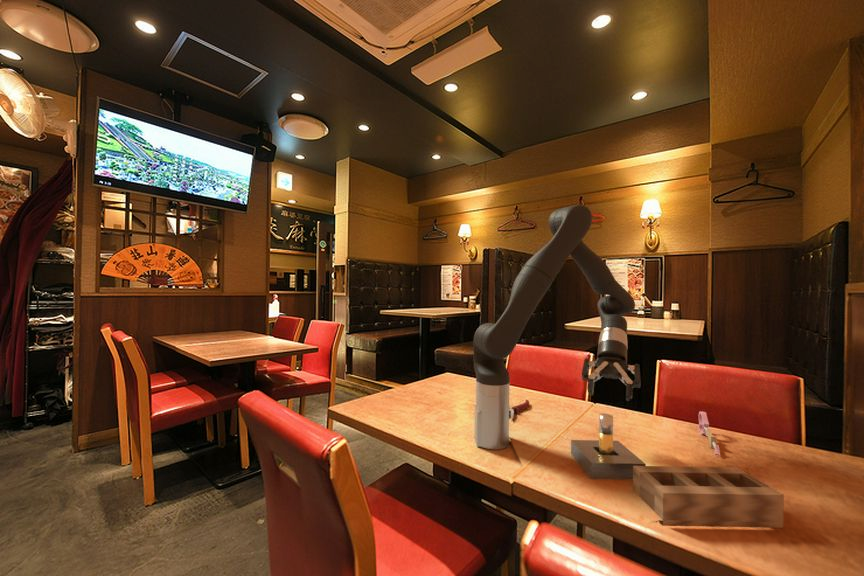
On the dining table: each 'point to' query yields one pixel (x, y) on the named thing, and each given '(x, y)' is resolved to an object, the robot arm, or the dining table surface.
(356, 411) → the dining table surface
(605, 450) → the gold clear cylinder
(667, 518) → the vial rack
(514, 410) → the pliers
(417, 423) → the dining table surface
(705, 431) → the decorative key
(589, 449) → the socket block
